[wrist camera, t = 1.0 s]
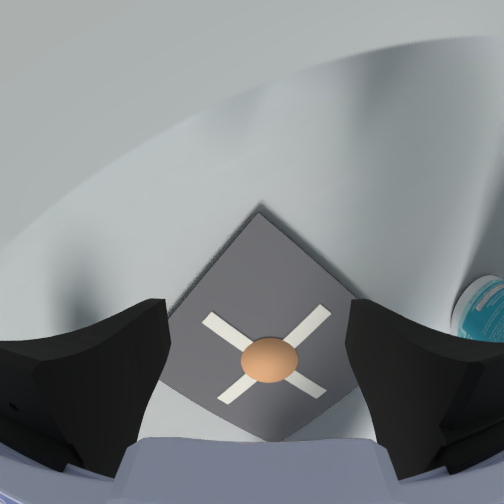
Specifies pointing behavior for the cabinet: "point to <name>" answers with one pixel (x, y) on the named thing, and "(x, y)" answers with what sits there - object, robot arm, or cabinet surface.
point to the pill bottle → (480, 311)
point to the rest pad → (262, 336)
